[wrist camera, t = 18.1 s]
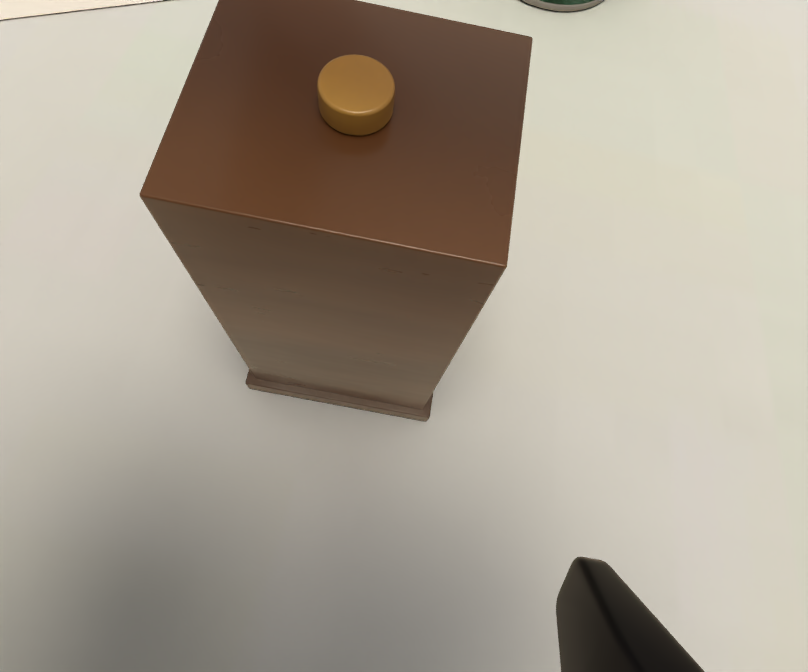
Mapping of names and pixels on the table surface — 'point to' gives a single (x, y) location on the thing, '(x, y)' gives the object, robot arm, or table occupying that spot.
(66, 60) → the table surface
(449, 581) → the table surface
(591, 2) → the canned tomato
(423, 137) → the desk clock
